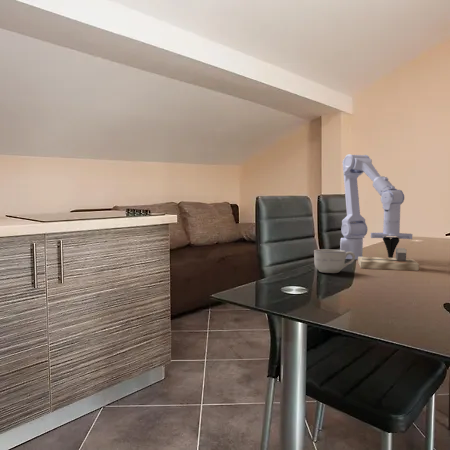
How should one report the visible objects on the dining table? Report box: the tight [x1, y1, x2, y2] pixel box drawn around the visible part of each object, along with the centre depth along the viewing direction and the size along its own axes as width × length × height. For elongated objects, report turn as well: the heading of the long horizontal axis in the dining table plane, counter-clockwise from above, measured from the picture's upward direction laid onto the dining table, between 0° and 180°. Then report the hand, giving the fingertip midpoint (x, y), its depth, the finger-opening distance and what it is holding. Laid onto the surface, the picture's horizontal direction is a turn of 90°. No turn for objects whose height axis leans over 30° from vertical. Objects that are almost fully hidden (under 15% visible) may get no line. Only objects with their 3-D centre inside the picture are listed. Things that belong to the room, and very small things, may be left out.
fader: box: [395, 247, 407, 261], centre depth 152 cm, size 3×4×4 cm
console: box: [357, 256, 420, 271], centre depth 154 cm, size 20×12×3 cm, turn 76°
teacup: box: [313, 248, 356, 274], centre depth 142 cm, size 14×11×8 cm
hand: (390, 257), depth 153 cm, fingers closed
